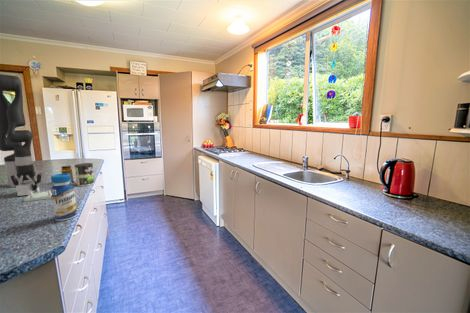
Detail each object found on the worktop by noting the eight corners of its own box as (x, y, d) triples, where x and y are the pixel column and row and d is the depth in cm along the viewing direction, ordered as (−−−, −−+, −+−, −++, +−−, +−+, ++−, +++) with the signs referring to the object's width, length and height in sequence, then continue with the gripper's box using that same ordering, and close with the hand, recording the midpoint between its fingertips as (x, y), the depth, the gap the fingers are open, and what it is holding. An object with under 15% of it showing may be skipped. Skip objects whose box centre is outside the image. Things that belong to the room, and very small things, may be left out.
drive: (29, 189, 135) (28, 180, 134) (39, 188, 136) (38, 179, 135) (17, 195, 124) (15, 185, 123) (28, 194, 125) (26, 184, 124)
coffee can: (98, 182, 153) (96, 163, 151) (85, 186, 143) (83, 166, 141) (86, 181, 155) (84, 162, 153) (73, 185, 145) (70, 165, 143)
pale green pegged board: (23, 201, 117) (22, 193, 116) (33, 195, 127) (32, 187, 126) (55, 198, 122) (54, 190, 121) (62, 192, 132) (61, 185, 131)
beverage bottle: (74, 211, 104) (69, 171, 100) (80, 216, 98) (75, 174, 95) (52, 217, 97) (46, 175, 94) (57, 223, 92) (50, 178, 89)
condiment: (60, 183, 152) (58, 166, 150) (73, 180, 159) (71, 164, 157) (65, 184, 149) (63, 167, 147) (79, 181, 156) (77, 165, 154)
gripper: (42, 161, 133) (46, 187, 136) (12, 163, 128) (16, 190, 131) (37, 164, 126) (41, 191, 129) (4, 165, 121) (9, 194, 124)
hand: (28, 190), depth 130 cm, fingers closed on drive, 5 cm apart
